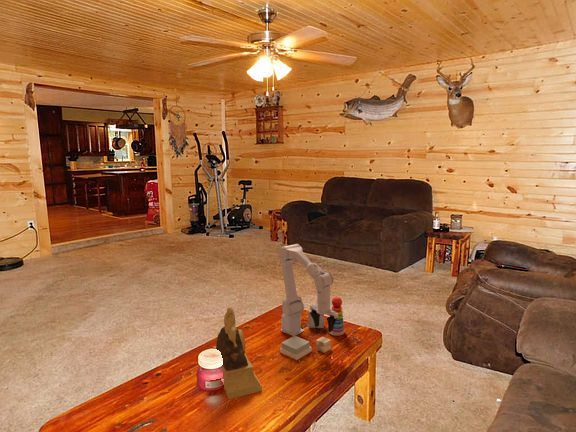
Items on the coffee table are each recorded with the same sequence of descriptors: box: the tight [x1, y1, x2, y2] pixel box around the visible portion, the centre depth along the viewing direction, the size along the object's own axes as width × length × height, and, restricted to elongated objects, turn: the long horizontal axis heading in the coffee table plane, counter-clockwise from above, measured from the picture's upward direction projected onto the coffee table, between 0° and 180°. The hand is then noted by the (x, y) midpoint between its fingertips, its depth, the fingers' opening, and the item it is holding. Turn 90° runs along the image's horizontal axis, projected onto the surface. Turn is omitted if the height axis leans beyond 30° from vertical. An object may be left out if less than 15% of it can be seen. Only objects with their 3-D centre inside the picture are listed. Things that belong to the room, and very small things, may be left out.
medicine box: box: [307, 308, 325, 329], centre depth 200 cm, size 8×4×9 cm, turn 84°
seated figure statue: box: [212, 306, 263, 400], centre depth 156 cm, size 28×13×30 cm, turn 23°
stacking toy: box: [328, 296, 346, 337], centre depth 192 cm, size 8×8×19 cm
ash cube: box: [315, 336, 332, 354], centre depth 177 cm, size 5×5×5 cm
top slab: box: [280, 335, 311, 355], centre depth 175 cm, size 9×9×2 cm
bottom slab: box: [279, 346, 313, 361], centre depth 176 cm, size 10×10×2 cm
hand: (323, 328), depth 176 cm, fingers open, 7 cm apart
